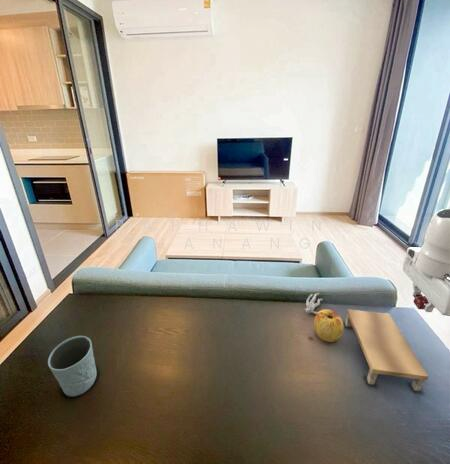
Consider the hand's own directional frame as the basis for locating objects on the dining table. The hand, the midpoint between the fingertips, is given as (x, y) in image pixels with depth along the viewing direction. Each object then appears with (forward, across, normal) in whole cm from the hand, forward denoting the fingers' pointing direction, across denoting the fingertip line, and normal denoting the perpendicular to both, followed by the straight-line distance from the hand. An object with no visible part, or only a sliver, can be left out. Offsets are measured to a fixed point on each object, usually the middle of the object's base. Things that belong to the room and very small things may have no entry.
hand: (421, 303), depth 73 cm
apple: (+20, +2, +24) cm, 31 cm away
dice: (+2, 0, 0) cm, 2 cm away
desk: (+20, -2, +9) cm, 22 cm away
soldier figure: (+20, +15, +26) cm, 36 cm away
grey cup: (+20, -24, +98) cm, 103 cm away
